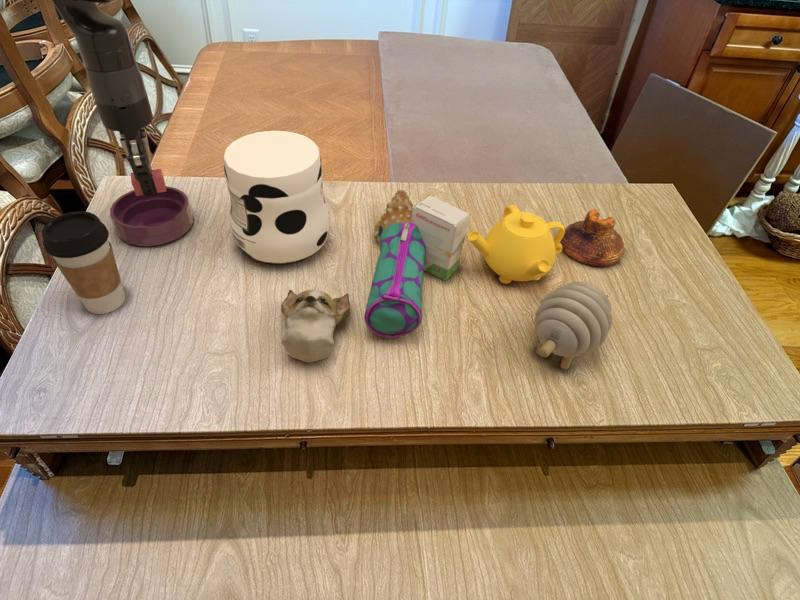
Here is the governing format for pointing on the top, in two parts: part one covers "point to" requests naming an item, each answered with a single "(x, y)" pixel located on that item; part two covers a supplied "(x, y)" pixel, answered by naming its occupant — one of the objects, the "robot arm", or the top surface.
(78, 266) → the coffee cup
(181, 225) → the bowl
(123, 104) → the robot arm
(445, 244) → the ink box
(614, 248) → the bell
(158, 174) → the eraser
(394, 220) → the seashell
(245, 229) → the milk container
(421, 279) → the pencil case
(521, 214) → the teapot
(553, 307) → the toy sheep
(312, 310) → the ceramic sculpture
